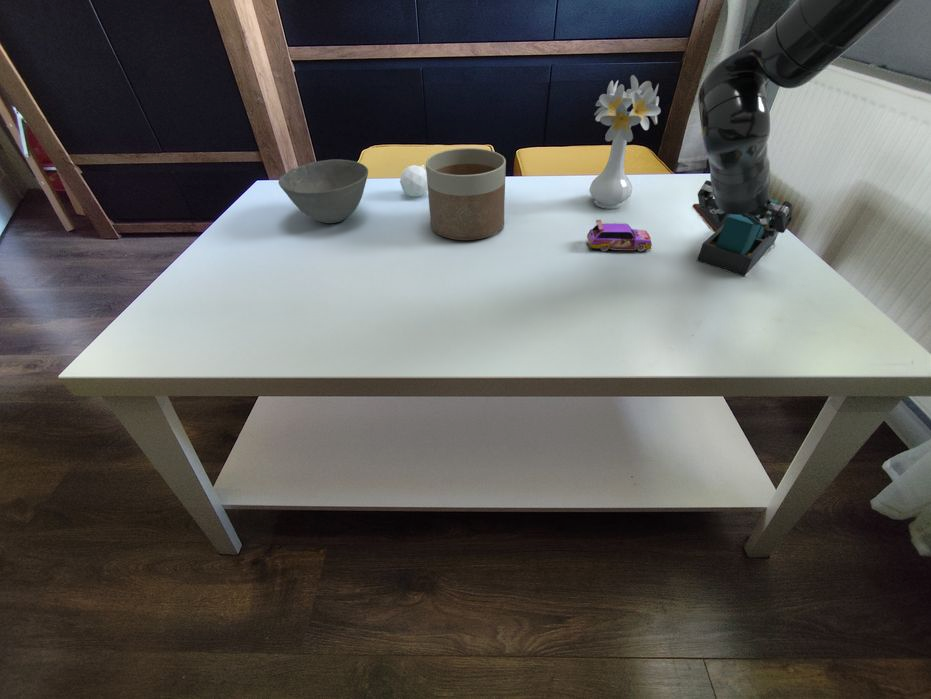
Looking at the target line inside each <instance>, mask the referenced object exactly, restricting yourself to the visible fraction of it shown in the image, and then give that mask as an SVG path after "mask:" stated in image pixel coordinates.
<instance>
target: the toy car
mask: <svg viewBox="0 0 931 699" xmlns="http://www.w3.org/2000/svg"><path fill="white" fill-rule="evenodd" d="M595 221H596V225H594V227H593V228H591V229H589V231H588V233H587V234H586V238H587V242H588V245H589V248H590V249H600V251H601V252H603V253H605V252H607V251H608V250H609V249H610V250H619V251H636V250H637V251H638V252H643V251H645V250H652V247H653V246H652V245H653V242H652V238H651V236H650V234H649V232H648V231H647V230H644V229H635V228H632V227H631V226H630V224H628V223H602V221H601V219H596V220H595Z"/></svg>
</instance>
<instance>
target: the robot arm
mask: <svg viewBox="0 0 931 699" xmlns="http://www.w3.org/2000/svg"><path fill="white" fill-rule="evenodd" d="M903 1H904V0H795V1H794V3H792V4H791V6H790V7H788V8H787V10H786V11H785V12H784V13H783V14H782V15H781V16H780V17H779V18H778V19H777V20H776V21H775V22H774V23H773V24H772V26H771V27H770V28H768V29H766V30H765V31H764V32H763V33H761V34H760V35H758V36H757V37H754V39H752V40H750V41H749V42H748V43H746V44H745V45H743V46H741V48H738V49H737V50H736V51H735V52H733V53H731V54H730V55H729V56H726V58H724V59H723V60H722V61H720V62H719V63H718V64H716V65H715V66H714V67H713V68H712V69H711V70H710V71H709V72H708V74H707V75H706V76H705V78H704V80H703V82H702V84H701V86H700V88H699V91H698V93H697V94H698V95H697V102H698V111H699V112H698V113H699V120H700V128H701V135H702V141H703V142H702V143H703V146H704V150H705V153H706V155H707V159H708V164H709V169H710V176H709V177H710V180H707V179H706V180H705V181H704V183H703V185H702V186H701V187H700V189H699V190H698V192H697V199H698V204H699V206H700V208H702V209H706V208H709V209H710V212H711V213H713V217H714V218H715V219H716V222H718V223H721V222H722V220H723V219H724V217H725V215H726V213H728V214H733V215H739V214H740V215H742V216H743V217H747V218H748V219H749V220H750V221H751V222H753V223H754V224H755V225H761V226H762V227H764V237H766V238H769V237H770V236H772V237H773V236H774V235H775V234H776V232H777V231H778V232H779V233H781V234H784V233H785V232H786V230H787V229H788V227H789V226H790V224H791V223H792V222H793V218H794V216H793V204H792V202H790V201H786V200H785V201H783V202H782V204H778V203H777V204H773V203H772V201H771V199H772V198H770V190H771V164H770V163H771V162H770V158H769V154H768V141H769V139H770V133H771V113H770V107H769V101H768V95H767V89H766V84H767V83H768V81H770V82H771V83H772V84H774V85H776V86H778V87H779V88H783V89H796V88H800V87H802V86H804V85H806V84H807V83H809V82H811V81H812V80H813V79H814V78H816V77H817V76H818V75H820V74H821V73H822V72H823V71H825V70H826V69H827V68H829V66H831V65H832V64H833V63H834V62H835V61H837V60H838V59H839V58H840V57H841V56H843V54H845V53H846V52H847V51H848V50H850V49H851V48H852V47H853V46H855V45H856V44H857V43H858V42H860V41H861V39H863V38H864V37H865V36H866V35H867V34H869V33H870V32H871V31H872V30H873V29H874V28H876V27H877V26H878V25H879V24H880V23H881V22H882V21H883V20H884V19H886V18H887V17H888V16H889V15H890V14H891V13H892V12H893V11H895V9H897V7H898V6H899V5H901V4H902V3H903ZM757 215H759V217H757ZM769 216H770V217H771V219H770V221H769V222H767V219H768V217H769Z"/></svg>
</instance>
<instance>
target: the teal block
mask: <svg viewBox="0 0 931 699" xmlns="http://www.w3.org/2000/svg"><path fill="white" fill-rule="evenodd" d="M757 217H759V215H757ZM760 226H761V225H755V224H754V223H753V222H751V221H750V220H749V219H748V218H747V217H743V216H742V215H740V214H739V215H733V214H730V215H729V216H727V218H726V221H725V223H724V226H723V228H722V231H721V234H720V236H719V239H718V242H717V244H716V246H718V247H722V248H725V249H728V250H731V251H734V252H738V253H741V254H744V255H748V254H749V251H750V249H751V247H752V245H753V242H754V240H755V238H756V235H757V233H758V231H759V228H760Z"/></svg>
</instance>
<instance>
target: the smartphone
mask: <svg viewBox="0 0 931 699" xmlns="http://www.w3.org/2000/svg"><path fill="white" fill-rule="evenodd" d="M692 207H693V209H694V210H695V211H696V212H697V213H698V214H699V216H700V217H701V218H702V219H703V221H705V223H706V224H707V225H708V226H709V227H710V228H711V230H712V232H713V233H715V232H716V231H717V230H718V229H719V228H720V227H721V226H722V225H723V224H724V223H725V221H726V218H727V216H729V215H730V214H728V213H726V215H725V217H724V219H723V220H722V222H721V223H718V222H716V219H715V218H714V217H713V213H711V212H710V209H709V208H706V209H702V208H700V206H699V203H694V204H692Z"/></svg>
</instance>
